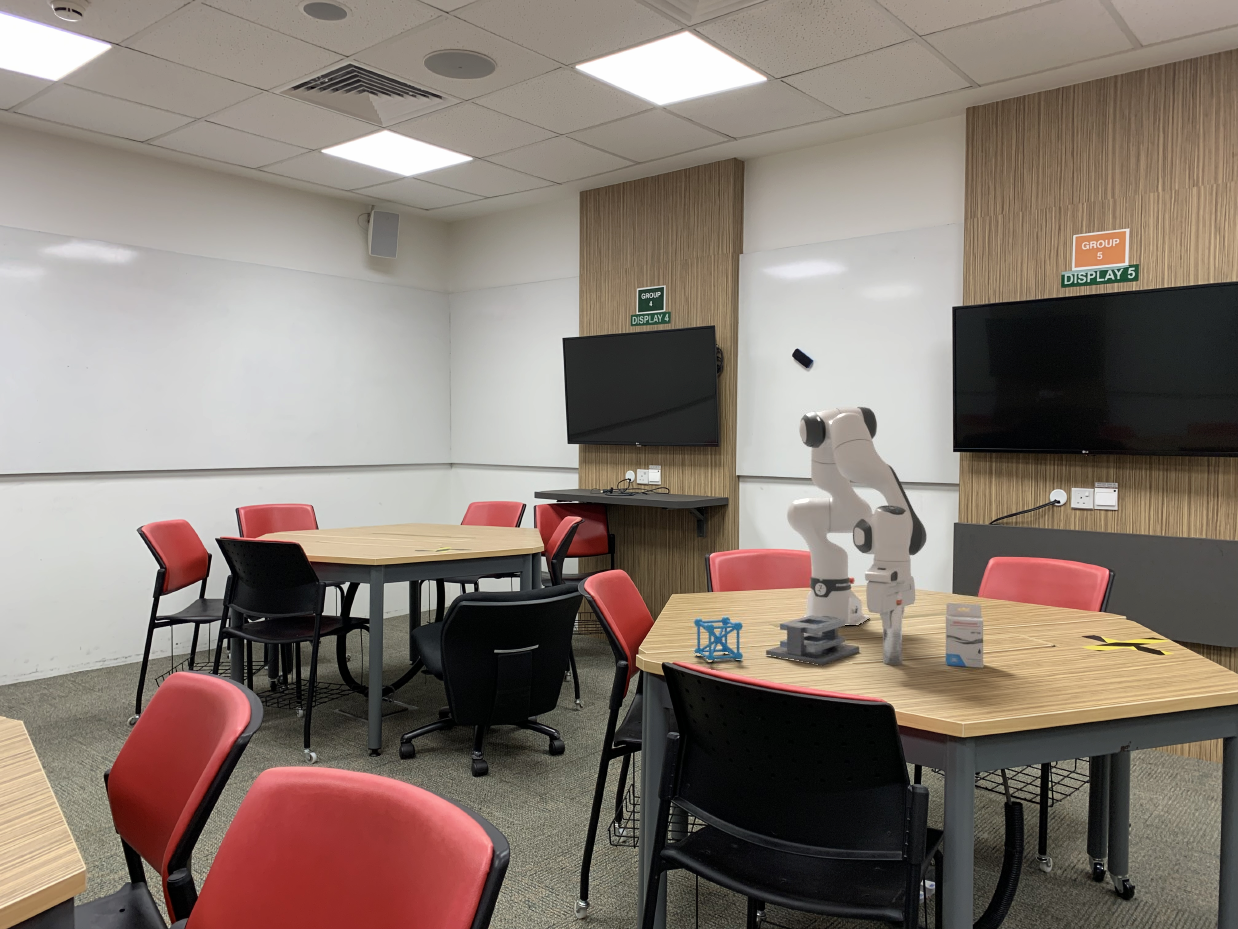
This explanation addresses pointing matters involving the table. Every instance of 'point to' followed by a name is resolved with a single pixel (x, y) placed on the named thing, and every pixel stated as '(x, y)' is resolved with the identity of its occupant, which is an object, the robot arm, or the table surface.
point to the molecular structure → (718, 638)
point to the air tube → (894, 636)
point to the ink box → (964, 635)
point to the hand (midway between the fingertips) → (892, 626)
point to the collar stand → (813, 640)
